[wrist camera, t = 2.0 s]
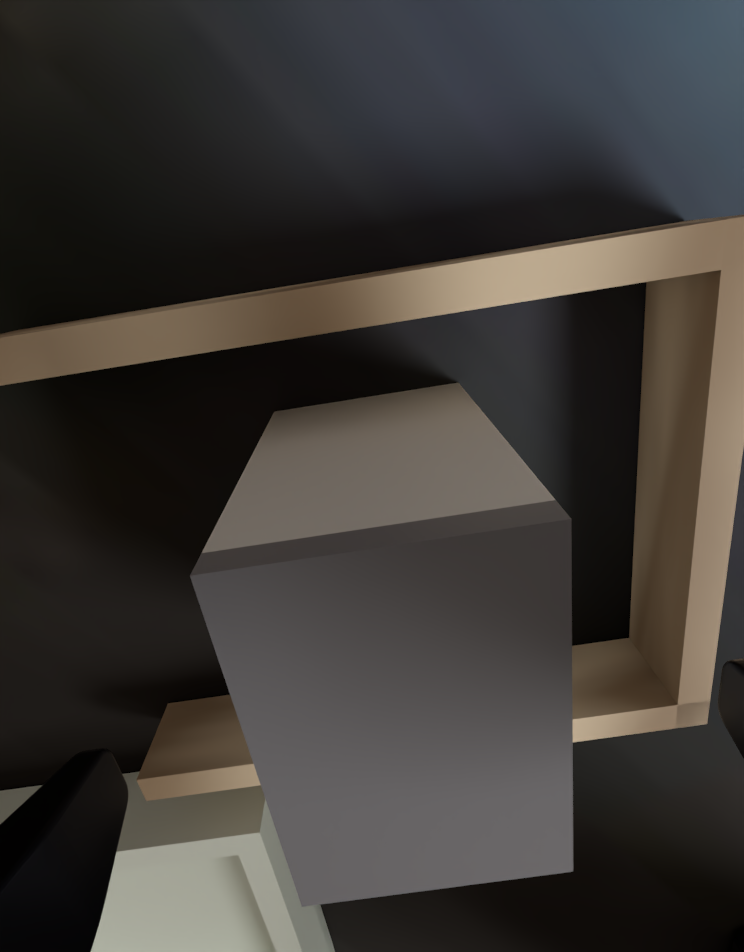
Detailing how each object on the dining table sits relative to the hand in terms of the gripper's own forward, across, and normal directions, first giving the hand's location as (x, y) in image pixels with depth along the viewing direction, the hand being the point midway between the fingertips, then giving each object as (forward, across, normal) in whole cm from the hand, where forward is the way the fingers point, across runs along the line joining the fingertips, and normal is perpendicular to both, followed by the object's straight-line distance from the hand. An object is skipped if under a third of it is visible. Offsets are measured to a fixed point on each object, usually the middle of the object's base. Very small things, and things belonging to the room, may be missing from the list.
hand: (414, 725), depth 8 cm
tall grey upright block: (+7, 0, 0) cm, 7 cm away
